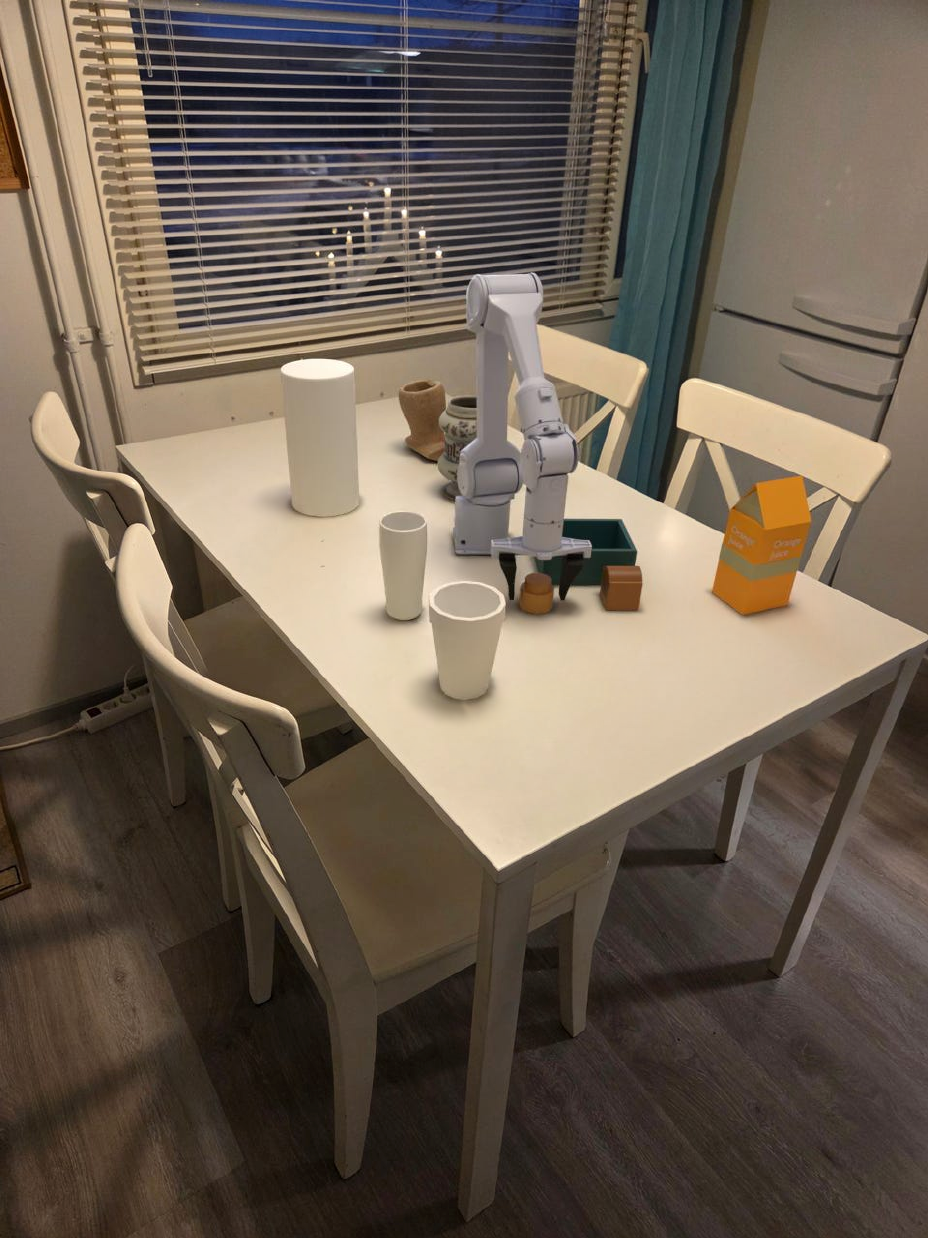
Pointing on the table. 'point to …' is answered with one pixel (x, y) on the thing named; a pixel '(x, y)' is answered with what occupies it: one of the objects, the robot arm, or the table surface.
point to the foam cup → (466, 635)
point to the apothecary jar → (456, 438)
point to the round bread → (536, 593)
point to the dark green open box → (594, 549)
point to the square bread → (621, 587)
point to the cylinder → (321, 436)
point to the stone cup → (424, 416)
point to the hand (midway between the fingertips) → (536, 597)
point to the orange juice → (763, 546)
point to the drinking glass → (403, 562)
